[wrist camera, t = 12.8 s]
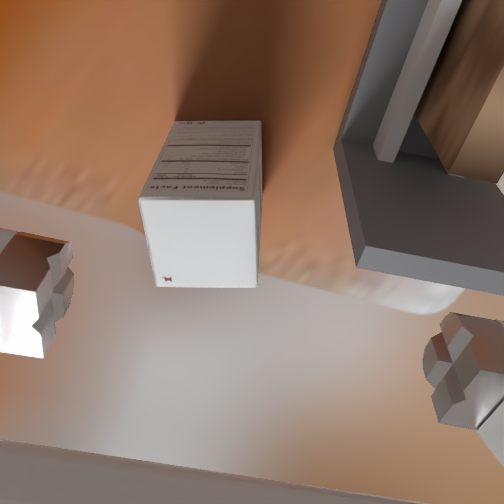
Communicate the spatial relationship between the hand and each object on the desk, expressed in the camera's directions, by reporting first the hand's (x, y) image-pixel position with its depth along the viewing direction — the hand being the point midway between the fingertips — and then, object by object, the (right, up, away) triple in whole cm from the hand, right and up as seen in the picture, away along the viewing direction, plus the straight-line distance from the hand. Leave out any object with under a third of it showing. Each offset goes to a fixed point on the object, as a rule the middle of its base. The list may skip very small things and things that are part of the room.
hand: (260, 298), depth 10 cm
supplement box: (-3, +9, +30) cm, 32 cm away
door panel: (+14, +16, +22) cm, 31 cm away
